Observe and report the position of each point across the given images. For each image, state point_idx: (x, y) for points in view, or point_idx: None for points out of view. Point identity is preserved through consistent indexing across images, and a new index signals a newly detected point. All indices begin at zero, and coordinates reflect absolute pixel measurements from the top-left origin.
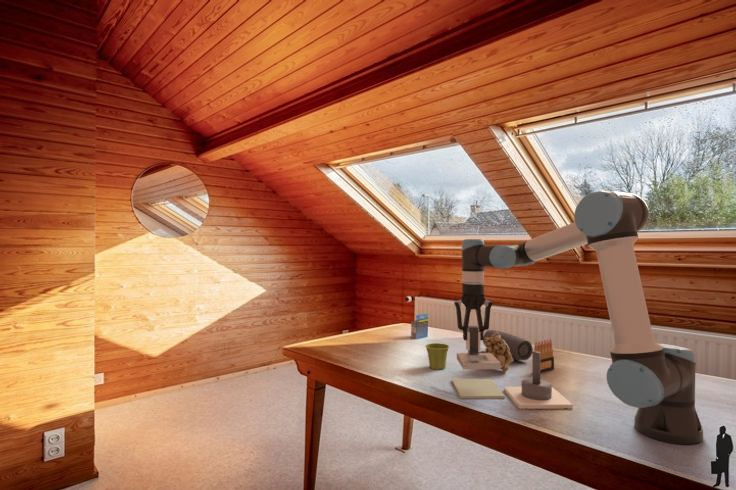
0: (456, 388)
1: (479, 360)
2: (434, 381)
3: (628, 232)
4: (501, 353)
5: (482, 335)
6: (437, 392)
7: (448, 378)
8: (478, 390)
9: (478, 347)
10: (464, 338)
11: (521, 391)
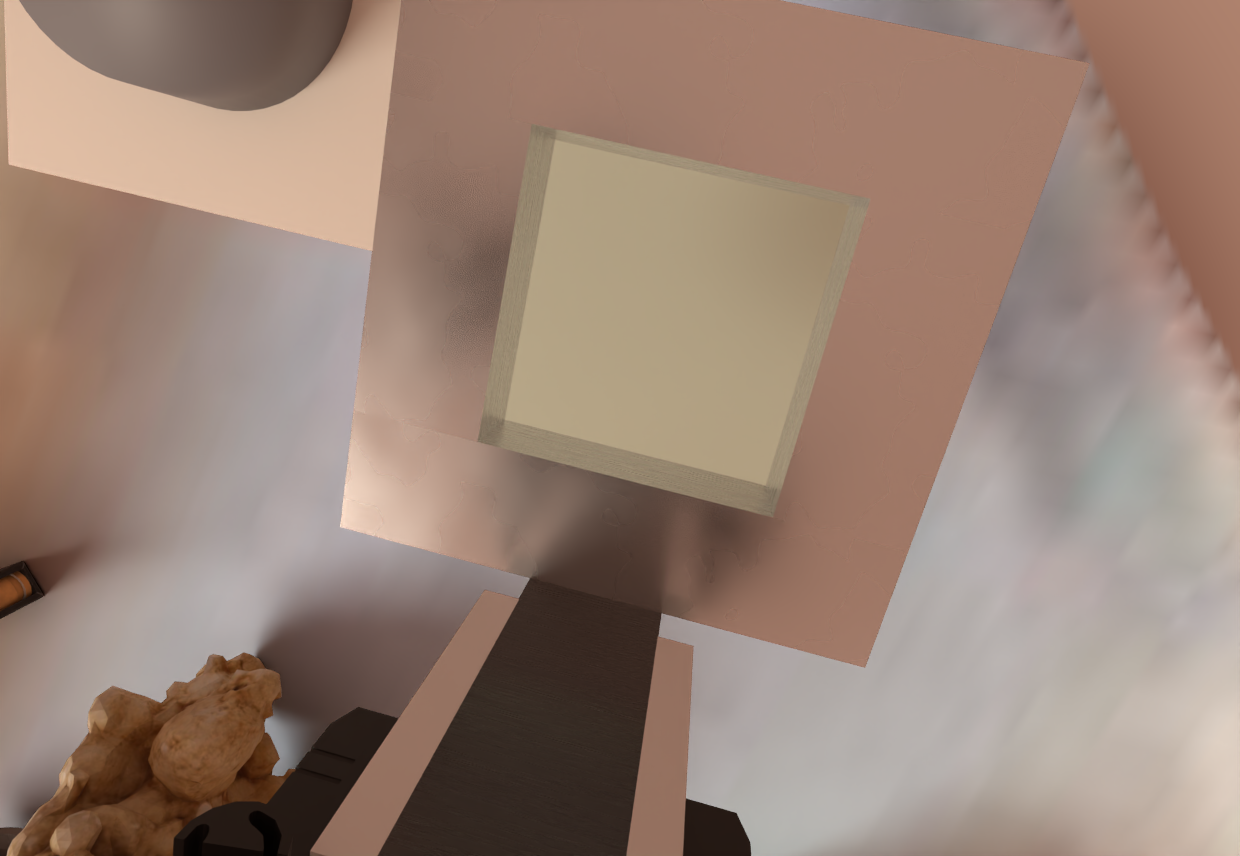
0: None
1: (581, 440)
2: (956, 637)
3: None
4: (152, 803)
5: (303, 787)
6: (1086, 357)
7: (789, 671)
8: (698, 250)
9: (501, 623)
10: (736, 850)
11: (320, 96)
